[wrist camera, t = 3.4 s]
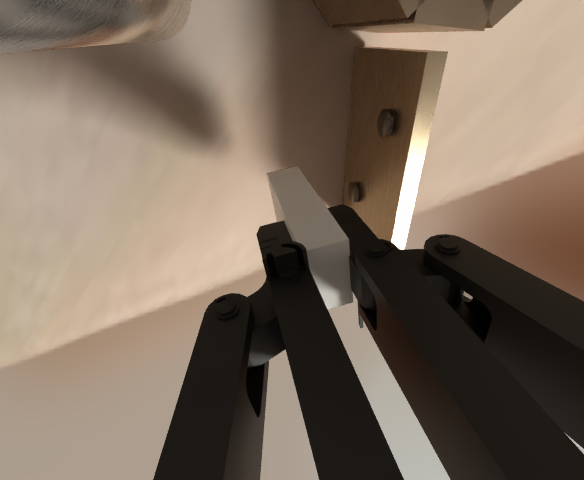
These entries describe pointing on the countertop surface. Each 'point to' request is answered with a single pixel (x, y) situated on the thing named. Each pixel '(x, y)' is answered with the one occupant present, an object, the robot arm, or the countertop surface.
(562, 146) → the countertop surface
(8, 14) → the hinge pin
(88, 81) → the countertop surface
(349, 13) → the knuckle and fixed leaf
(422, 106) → the loose leaf
